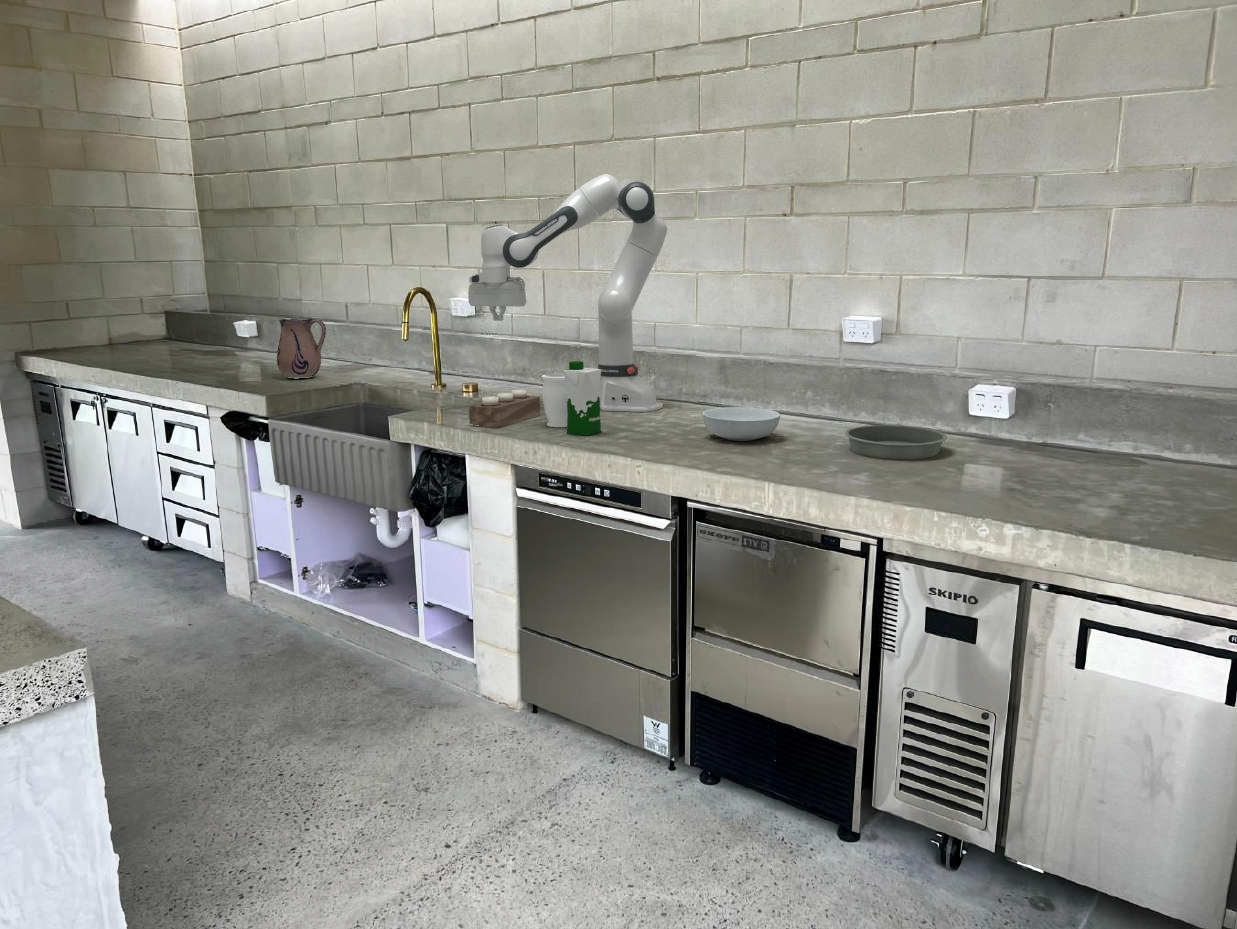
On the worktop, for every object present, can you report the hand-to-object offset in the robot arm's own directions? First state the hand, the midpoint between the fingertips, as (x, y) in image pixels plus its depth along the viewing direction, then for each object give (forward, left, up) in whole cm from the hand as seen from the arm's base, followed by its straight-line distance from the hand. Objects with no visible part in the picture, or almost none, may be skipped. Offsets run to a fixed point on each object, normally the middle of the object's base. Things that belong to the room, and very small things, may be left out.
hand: (498, 320), depth 301 cm
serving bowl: (-89, +19, -29) cm, 96 cm away
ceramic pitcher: (+123, -36, -29) cm, 131 cm away
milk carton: (-46, +29, -29) cm, 62 cm away
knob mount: (-14, +20, -29) cm, 38 cm away
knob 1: (-14, +28, -27) cm, 41 cm away
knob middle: (-14, +19, -27) cm, 36 cm away
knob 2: (-14, +11, -27) cm, 33 cm away
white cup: (-34, +21, -29) cm, 49 cm away
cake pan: (-130, +20, -29) cm, 135 cm away
